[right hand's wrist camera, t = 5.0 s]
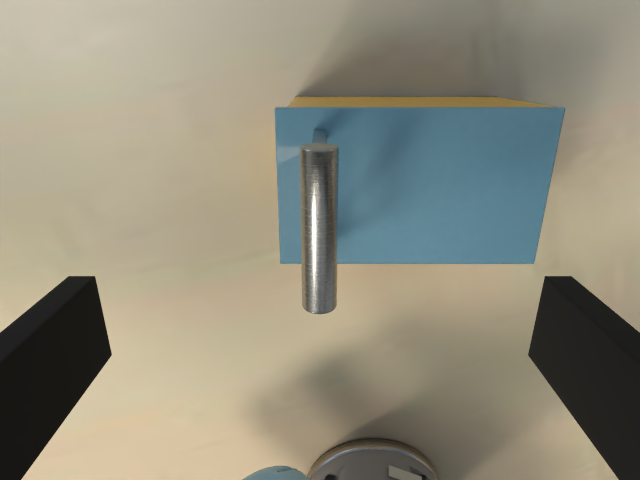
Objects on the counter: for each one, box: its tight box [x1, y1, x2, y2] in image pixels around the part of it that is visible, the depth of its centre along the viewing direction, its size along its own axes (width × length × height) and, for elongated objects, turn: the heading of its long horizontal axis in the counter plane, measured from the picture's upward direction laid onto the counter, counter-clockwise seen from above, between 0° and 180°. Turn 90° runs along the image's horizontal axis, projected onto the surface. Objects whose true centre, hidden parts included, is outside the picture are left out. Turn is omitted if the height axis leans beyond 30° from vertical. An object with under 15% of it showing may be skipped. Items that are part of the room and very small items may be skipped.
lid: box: [275, 107, 565, 314], centre depth 23 cm, size 16×10×8 cm, turn 90°
